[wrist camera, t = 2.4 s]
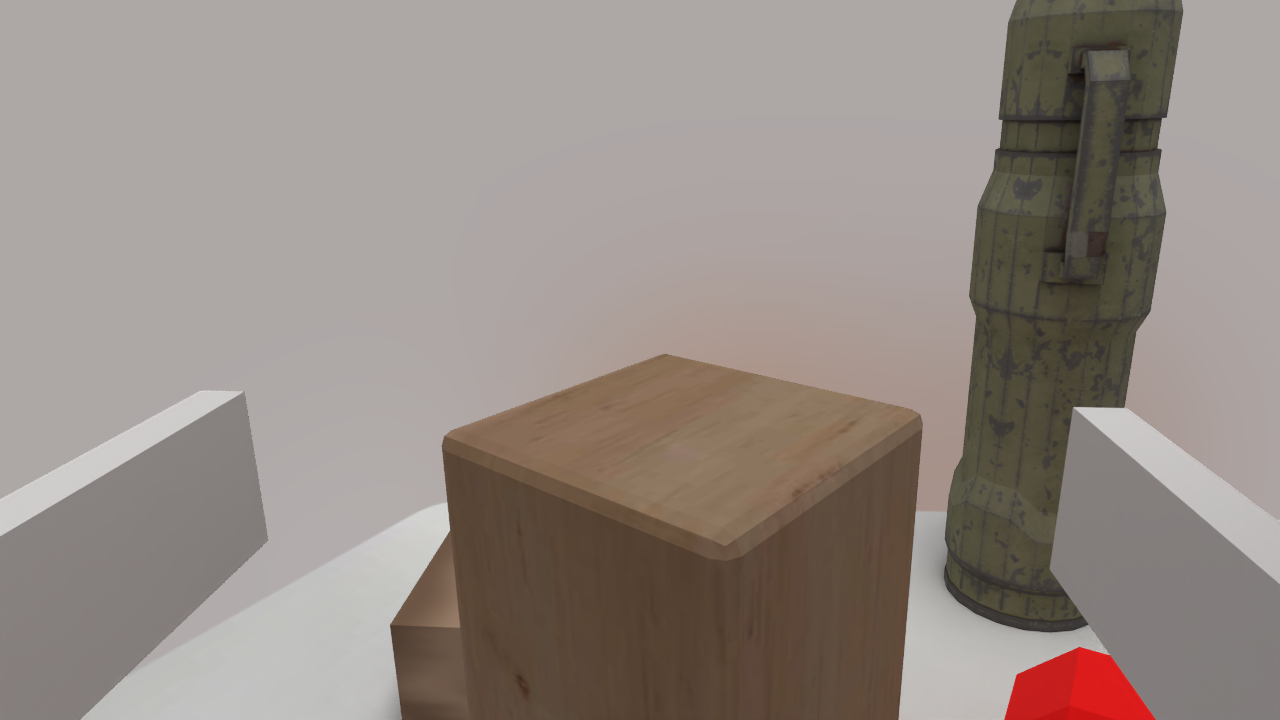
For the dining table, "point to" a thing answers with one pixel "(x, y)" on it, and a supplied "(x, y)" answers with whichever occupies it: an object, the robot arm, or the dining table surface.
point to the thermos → (1056, 283)
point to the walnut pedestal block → (431, 645)
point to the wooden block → (684, 549)
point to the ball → (1076, 690)
